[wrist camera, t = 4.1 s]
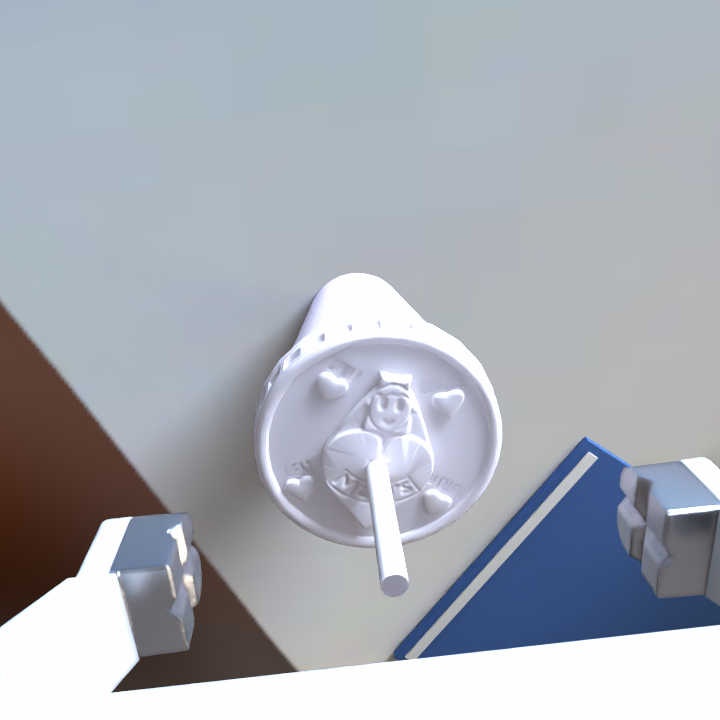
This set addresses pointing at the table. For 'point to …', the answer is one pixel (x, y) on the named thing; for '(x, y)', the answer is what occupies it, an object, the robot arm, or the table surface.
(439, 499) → the smoothie
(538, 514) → the cloth
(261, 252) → the table surface
